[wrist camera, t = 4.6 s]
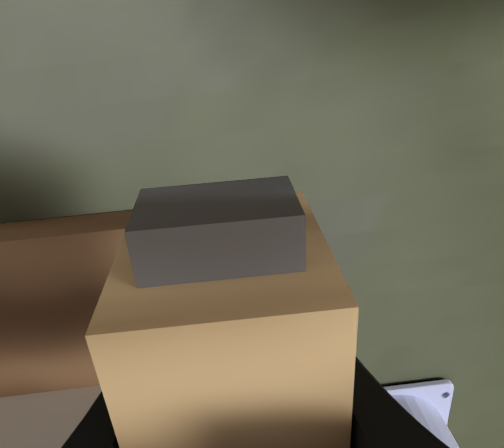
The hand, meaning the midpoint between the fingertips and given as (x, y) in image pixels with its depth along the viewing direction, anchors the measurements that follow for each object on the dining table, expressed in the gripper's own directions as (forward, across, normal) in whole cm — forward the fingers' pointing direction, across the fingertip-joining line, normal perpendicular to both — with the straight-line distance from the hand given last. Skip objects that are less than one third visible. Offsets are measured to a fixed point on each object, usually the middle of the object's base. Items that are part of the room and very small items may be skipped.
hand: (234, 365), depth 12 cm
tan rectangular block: (+1, 0, 0) cm, 1 cm away
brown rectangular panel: (+10, +9, +4) cm, 14 cm away
